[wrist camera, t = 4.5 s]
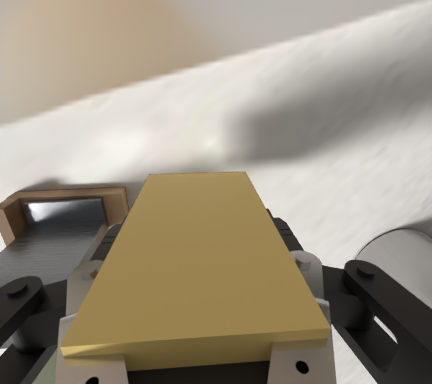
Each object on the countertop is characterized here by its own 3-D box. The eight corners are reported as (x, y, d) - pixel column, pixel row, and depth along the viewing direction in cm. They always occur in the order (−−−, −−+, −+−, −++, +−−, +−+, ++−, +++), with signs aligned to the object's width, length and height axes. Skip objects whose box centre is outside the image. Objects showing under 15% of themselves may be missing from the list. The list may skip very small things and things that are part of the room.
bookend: (102, 196, 19) (28, 301, 10) (109, 226, 21) (47, 344, 12) (27, 200, 19) (-119, 313, 10) (38, 230, 20) (-84, 356, 11)
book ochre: (245, 171, 14) (331, 328, 5) (242, 230, 16) (304, 428, 7) (148, 174, 14) (59, 347, 5) (156, 234, 16) (99, 448, 6)
